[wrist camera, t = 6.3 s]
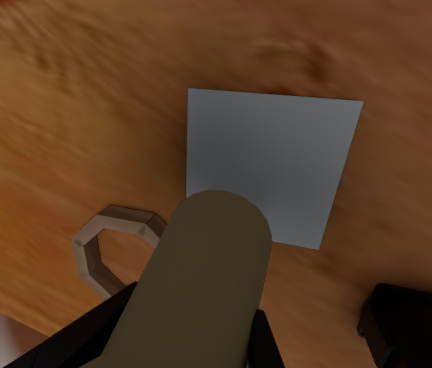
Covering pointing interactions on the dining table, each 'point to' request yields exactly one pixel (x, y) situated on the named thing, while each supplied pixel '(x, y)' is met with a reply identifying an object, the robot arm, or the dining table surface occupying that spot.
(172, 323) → the cork
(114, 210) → the walnut holder
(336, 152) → the slate mat
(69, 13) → the dining table surface
